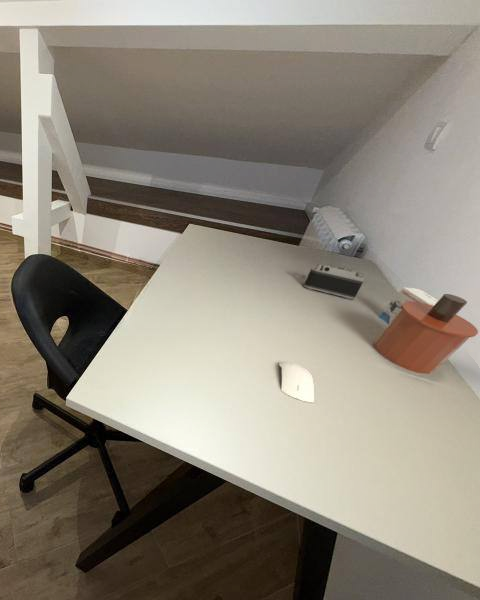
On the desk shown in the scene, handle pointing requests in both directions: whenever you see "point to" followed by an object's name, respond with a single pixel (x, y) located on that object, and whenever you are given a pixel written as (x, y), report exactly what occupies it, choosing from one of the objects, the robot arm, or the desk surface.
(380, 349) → the pot
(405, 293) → the ink box
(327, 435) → the desk surface
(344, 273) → the camera
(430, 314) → the lid
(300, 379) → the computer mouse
